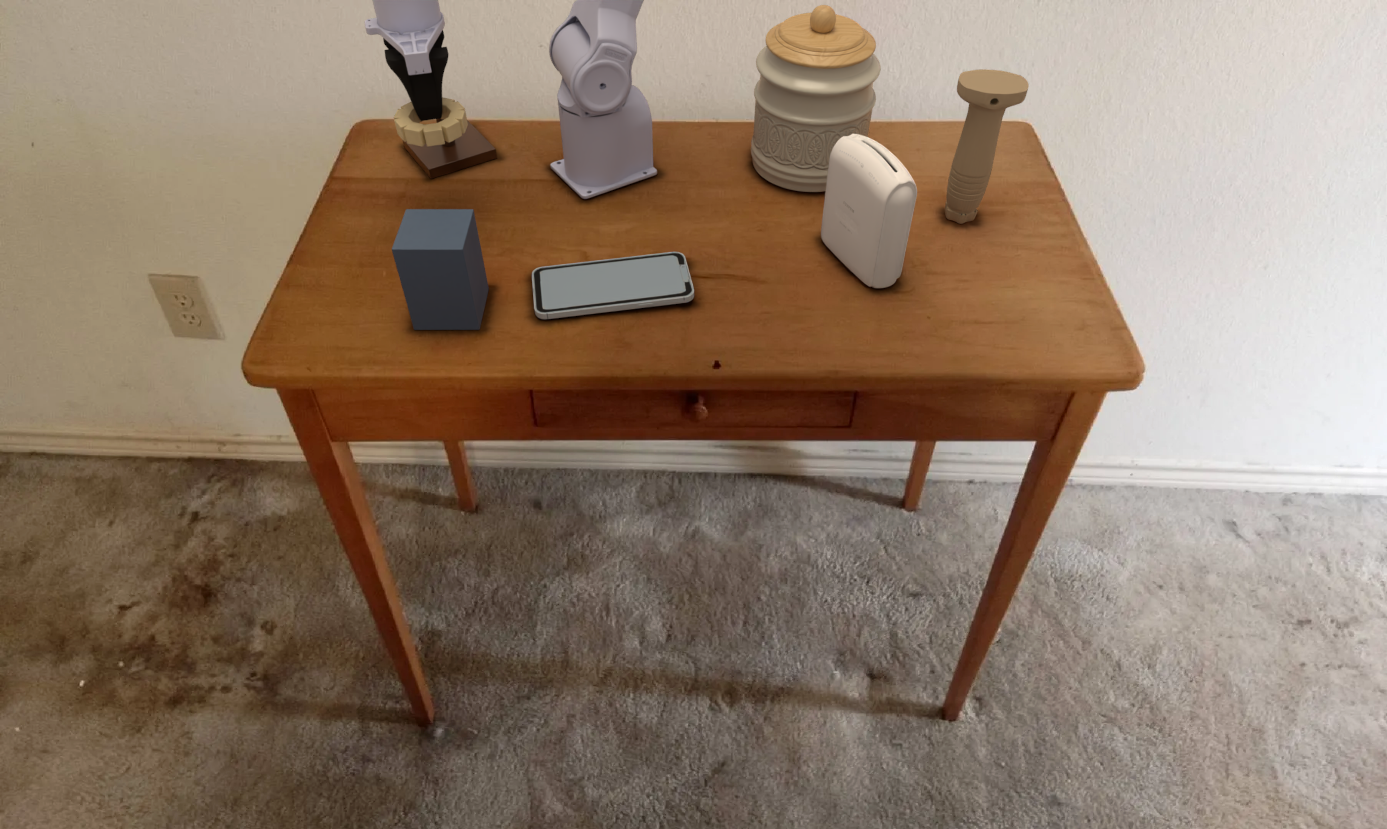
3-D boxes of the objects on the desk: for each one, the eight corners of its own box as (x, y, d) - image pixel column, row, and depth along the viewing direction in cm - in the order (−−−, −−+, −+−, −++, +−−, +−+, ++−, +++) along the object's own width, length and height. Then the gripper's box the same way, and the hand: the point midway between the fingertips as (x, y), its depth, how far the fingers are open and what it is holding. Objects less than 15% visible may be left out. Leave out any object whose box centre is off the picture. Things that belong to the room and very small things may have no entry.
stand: (468, 128, 109) (459, 78, 105) (497, 158, 104) (488, 107, 100) (403, 147, 106) (391, 96, 101) (430, 178, 101) (419, 127, 97)
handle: (992, 231, 95) (1031, 95, 84) (929, 227, 96) (961, 91, 85) (987, 205, 99) (1025, 71, 88) (927, 201, 99) (956, 67, 88)
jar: (740, 186, 101) (748, 26, 88) (760, 128, 110) (770, -25, 97) (858, 202, 99) (884, 40, 86) (869, 141, 108) (894, -13, 95)
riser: (489, 288, 88) (473, 208, 82) (479, 330, 84) (462, 249, 77) (426, 288, 88) (405, 208, 82) (413, 330, 84) (391, 249, 77)
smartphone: (531, 267, 89) (683, 250, 91) (532, 275, 90) (683, 258, 91) (534, 315, 84) (695, 296, 86) (536, 323, 85) (696, 304, 86)
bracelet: (450, 105, 93) (447, 90, 92) (478, 133, 89) (476, 118, 88) (387, 123, 90) (383, 108, 89) (414, 153, 86) (410, 138, 85)
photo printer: (813, 238, 94) (826, 127, 85) (848, 227, 96) (865, 117, 87) (868, 295, 88) (889, 182, 79) (905, 283, 89) (930, 171, 80)
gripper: (349, -57, 85) (384, 83, 95) (354, 6, 75) (392, 154, 85) (426, -64, 86) (453, 74, 96) (441, -3, 77) (469, 144, 87)
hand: (429, 111), depth 91 cm, fingers closed on bracelet, 2 cm apart
